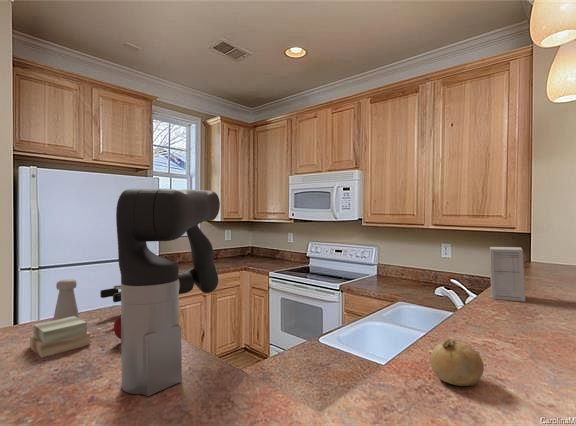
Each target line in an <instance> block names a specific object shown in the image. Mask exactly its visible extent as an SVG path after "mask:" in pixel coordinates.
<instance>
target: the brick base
mask: <svg viewBox="0 0 576 426" xmlns="http://www.w3.org/2000/svg"><path fill="white" fill-rule="evenodd" d="M32 327H33V333H32V335H29V348H30V349H31V350H32V351H34V353H36V354H37V356H40V358H42V359H43V358H46V357H49V356H53V355H56V354H60V353H64V352H67V351H71V350H74V349H79V348H82V347H86V346H89V345H91V332H89V331H88V322H87V321H85V320H83V319H82V318H80V319H79V318H77V317H75V316H73V317H68V318H63V319H58V320H53V319H52V320H48V321H44V322H40V323H35V324H33V325H32Z"/></svg>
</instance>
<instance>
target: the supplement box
mask: <svg viewBox="0 0 576 426" xmlns="http://www.w3.org/2000/svg"><path fill="white" fill-rule="evenodd" d="M489 267H490V268H489V269H490V272H489V273H490V274H489V275H490V290H491V291H490V293H491V299H492V300H504V301H515V302H523V303H524V302H526V287H525V285H526V284H525V269H524V250H523V248H522V247H520V246H519V247H514V246H513V247H512V246H490V247H489Z"/></svg>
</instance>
